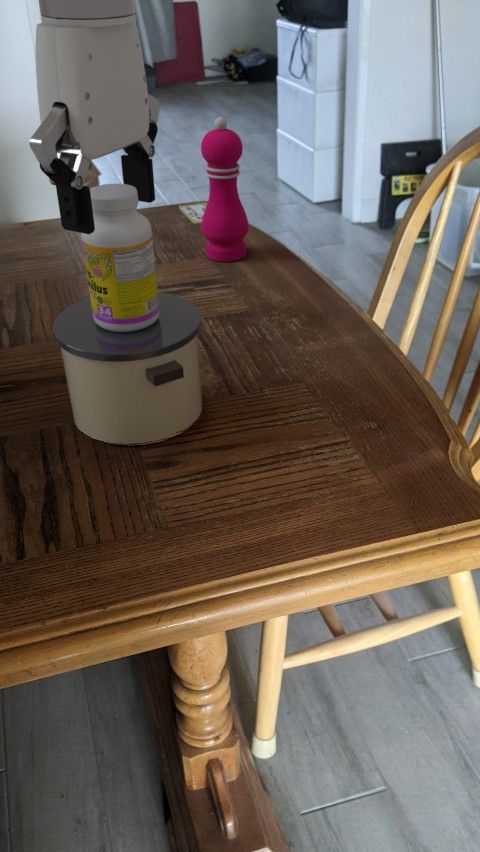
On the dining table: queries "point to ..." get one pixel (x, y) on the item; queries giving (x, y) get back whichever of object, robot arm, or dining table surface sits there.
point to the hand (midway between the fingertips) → (110, 214)
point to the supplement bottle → (120, 261)
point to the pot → (132, 372)
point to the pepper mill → (223, 195)
